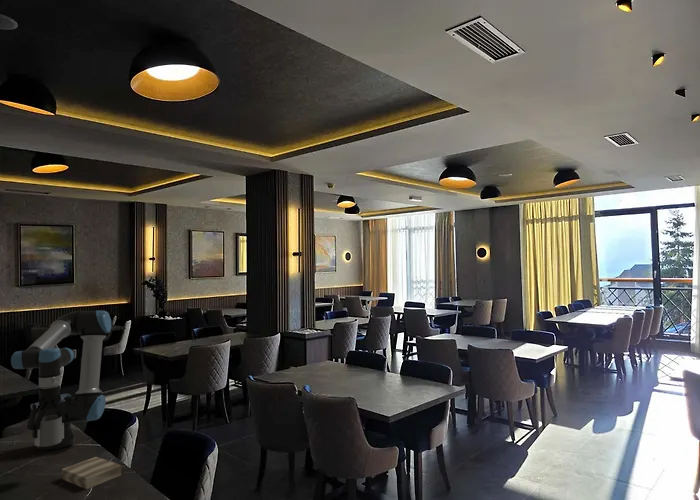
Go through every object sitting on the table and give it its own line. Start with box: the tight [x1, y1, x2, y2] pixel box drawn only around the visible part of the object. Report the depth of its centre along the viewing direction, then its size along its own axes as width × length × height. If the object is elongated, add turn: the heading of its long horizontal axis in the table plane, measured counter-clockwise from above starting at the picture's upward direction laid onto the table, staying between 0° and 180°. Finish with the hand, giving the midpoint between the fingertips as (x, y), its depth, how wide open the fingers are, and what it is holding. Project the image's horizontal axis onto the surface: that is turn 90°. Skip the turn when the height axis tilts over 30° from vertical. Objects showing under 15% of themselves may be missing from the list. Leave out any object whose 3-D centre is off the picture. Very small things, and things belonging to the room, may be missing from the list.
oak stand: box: [61, 456, 122, 490], centre depth 186 cm, size 18×14×4 cm
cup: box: [38, 415, 62, 447], centre depth 189 cm, size 8×8×10 cm
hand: (49, 441), depth 189 cm, fingers closed on cup, 8 cm apart
